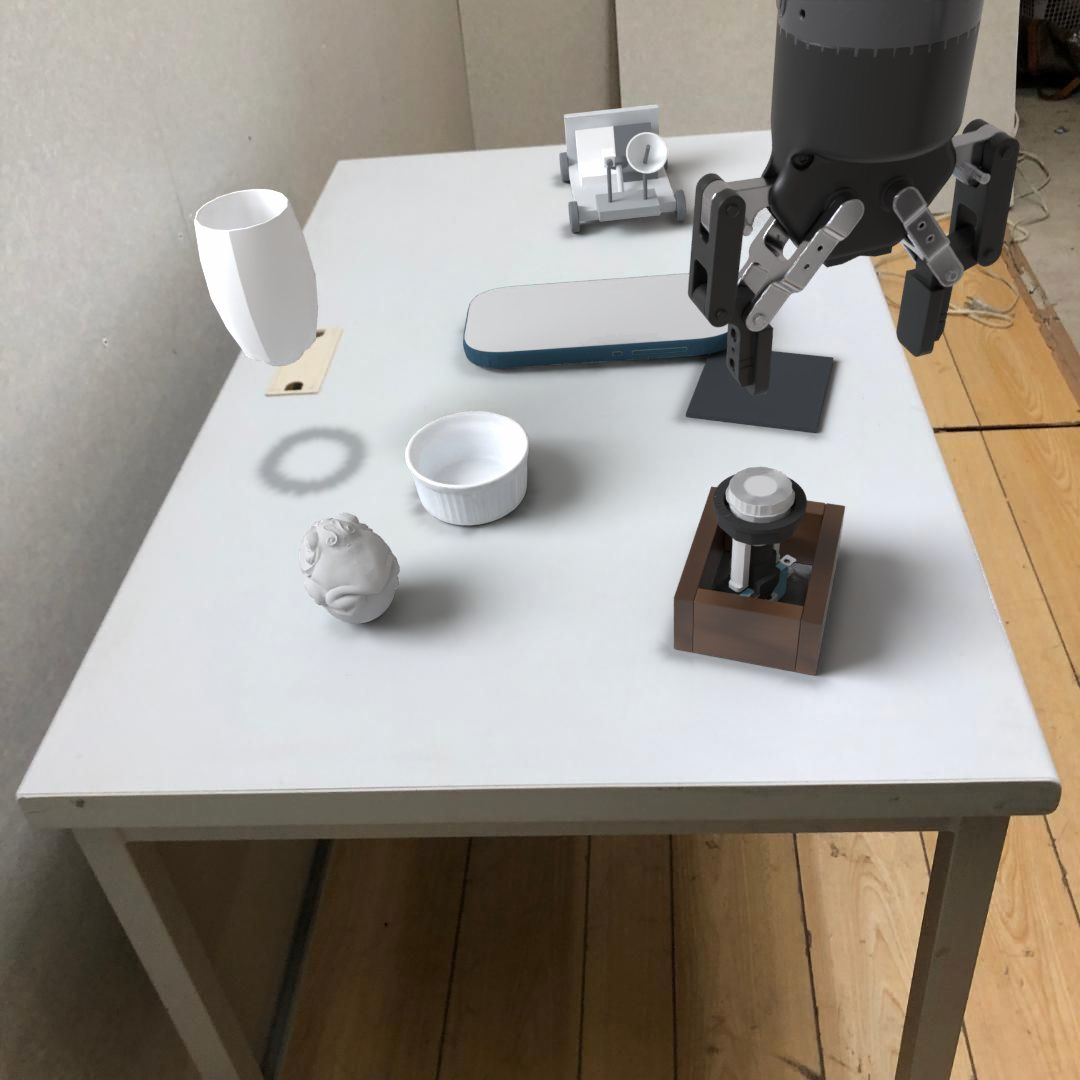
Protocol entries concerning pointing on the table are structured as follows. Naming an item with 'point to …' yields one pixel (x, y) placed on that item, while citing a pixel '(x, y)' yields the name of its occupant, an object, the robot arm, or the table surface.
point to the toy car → (617, 166)
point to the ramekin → (469, 466)
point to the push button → (758, 529)
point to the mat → (783, 406)
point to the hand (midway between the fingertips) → (833, 366)
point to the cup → (259, 273)
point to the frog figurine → (348, 568)
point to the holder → (753, 622)
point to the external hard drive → (588, 323)
